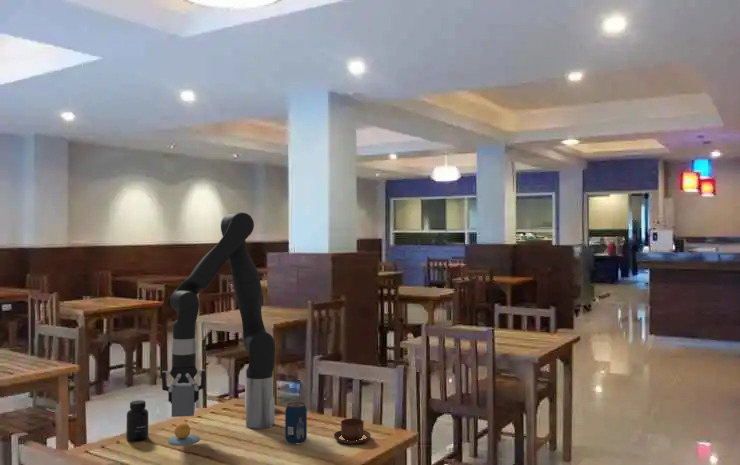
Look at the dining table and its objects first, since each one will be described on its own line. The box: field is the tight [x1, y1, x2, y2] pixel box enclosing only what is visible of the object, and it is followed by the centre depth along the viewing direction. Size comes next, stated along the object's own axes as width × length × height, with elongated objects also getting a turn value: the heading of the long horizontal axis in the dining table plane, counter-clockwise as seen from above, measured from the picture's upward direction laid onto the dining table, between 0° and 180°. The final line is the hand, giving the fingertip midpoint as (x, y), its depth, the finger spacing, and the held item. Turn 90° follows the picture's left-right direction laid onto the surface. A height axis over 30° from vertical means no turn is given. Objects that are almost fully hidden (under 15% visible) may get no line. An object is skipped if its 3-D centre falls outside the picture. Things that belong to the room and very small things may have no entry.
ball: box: [174, 422, 191, 439], centre depth 213 cm, size 5×5×5 cm
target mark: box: [167, 434, 201, 446], centre depth 212 cm, size 10×10×1 cm
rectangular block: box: [171, 382, 196, 418], centre depth 212 cm, size 7×9×9 cm
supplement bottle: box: [125, 399, 149, 442], centre depth 213 cm, size 7×7×12 cm
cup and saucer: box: [333, 418, 371, 444], centre depth 212 cm, size 12×12×6 cm
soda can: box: [284, 401, 308, 445], centre depth 211 cm, size 7×7×12 cm
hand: (183, 402), depth 212 cm, fingers closed on rectangular block, 7 cm apart
